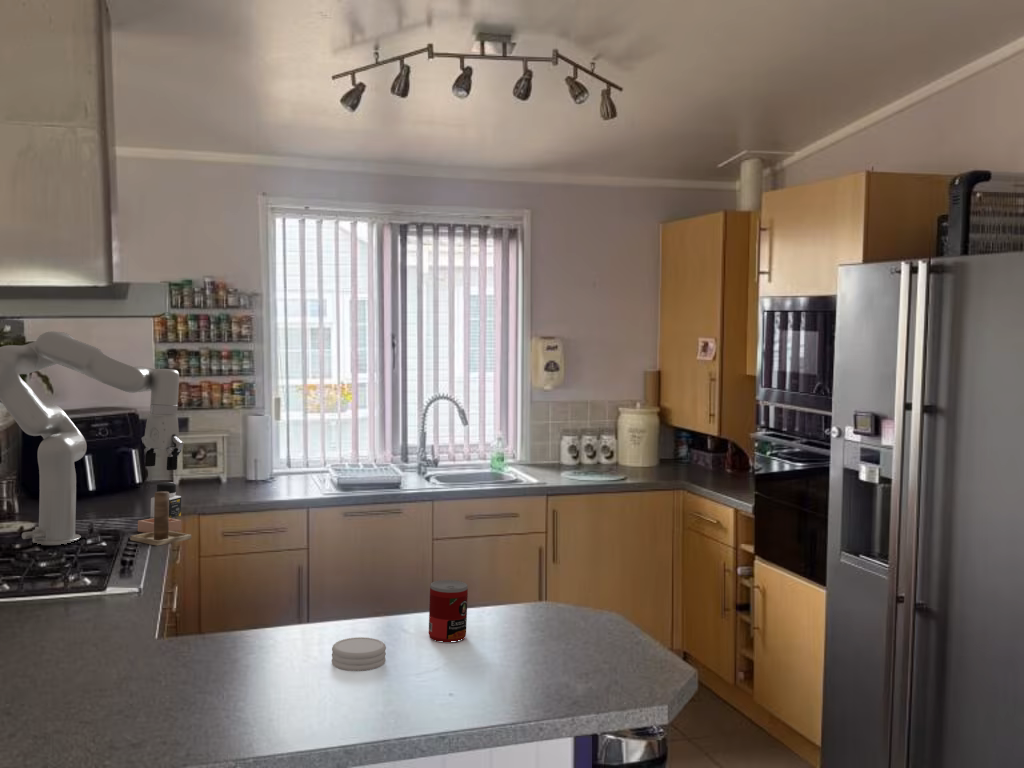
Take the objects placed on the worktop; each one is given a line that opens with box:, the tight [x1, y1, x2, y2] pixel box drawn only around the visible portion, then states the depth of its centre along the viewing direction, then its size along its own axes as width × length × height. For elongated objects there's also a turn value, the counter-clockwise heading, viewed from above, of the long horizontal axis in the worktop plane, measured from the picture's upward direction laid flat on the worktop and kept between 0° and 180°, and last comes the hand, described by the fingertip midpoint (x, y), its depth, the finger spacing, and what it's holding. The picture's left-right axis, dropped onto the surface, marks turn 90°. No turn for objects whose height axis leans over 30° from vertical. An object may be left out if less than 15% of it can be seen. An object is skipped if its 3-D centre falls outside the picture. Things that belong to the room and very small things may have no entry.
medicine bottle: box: [150, 481, 182, 519], centre depth 299 cm, size 7×7×12 cm
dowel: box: [153, 491, 169, 540], centre depth 261 cm, size 4×4×14 cm
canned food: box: [428, 579, 469, 642], centre depth 181 cm, size 8×8×11 cm
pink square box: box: [137, 517, 182, 534], centre depth 274 cm, size 9×9×4 cm
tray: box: [129, 531, 192, 547], centre depth 261 cm, size 12×12×2 cm
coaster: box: [331, 636, 387, 672], centre depth 165 cm, size 10×10×4 cm
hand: (160, 468), depth 261 cm, fingers open, 9 cm apart
